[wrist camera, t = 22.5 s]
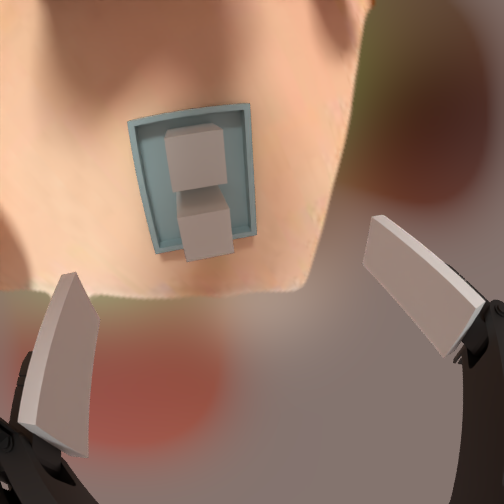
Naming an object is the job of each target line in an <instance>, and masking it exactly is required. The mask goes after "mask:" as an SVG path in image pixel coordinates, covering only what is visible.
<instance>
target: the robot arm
mask: <svg viewBox="0 0 504 504" xmlns="http://www.w3.org/2000/svg"><path fill="white" fill-rule="evenodd" d="M363 265H364V267H365V268H366V269H367V270H368V271H369V272H370V273H371V274H372V275H373V276H374V277H375V278H376V280H377V281H378V282H379V283H380V284H381V285H382V286H383V287H384V288H385V289H386V290H387V291H388V293H389V294H390V295H391V296H392V297H393V298H394V299H395V301H396V302H397V303H398V304H399V305H400V306H401V307H402V308H403V309H404V311H405V312H406V313H407V314H408V315H409V317H410V318H411V319H412V320H413V321H414V322H415V324H416V325H417V326H418V327H419V328H420V330H421V331H422V332H423V333H424V334H425V336H426V337H427V338H428V339H429V341H430V342H431V343H432V344H433V346H434V347H435V348H436V349H437V350H438V352H439V353H440V354H441V356H442V357H443V358H445V357H447V356H448V355H449V354H451V353H452V352H453V351H455V349H456V348H457V347H458V345H459V344H460V342H461V341H462V342H463V343H464V345H463V347H462V348H461V350H460V351H459V352H458V354H457V355H456V356H455V358H454V361H453V363H456V362H457V360H458V359H459V358H460V356H462V358H461V359H460V360H459V362H458V364H462V368H463V422H462V435H461V445H460V453H459V461H458V467H457V473H456V478H455V483H454V487H453V492H452V496H451V500H450V503H449V504H504V303H503V302H502V301H499V300H493V301H491V302H489V301H488V300H486V299H485V298H484V297H483V296H482V295H481V294H480V293H479V292H478V291H477V290H476V289H475V288H474V287H473V286H472V285H471V284H470V283H469V282H468V281H465V278H463V277H462V276H461V275H459V273H458V272H457V271H456V270H454V269H453V268H452V267H451V266H450V265H448V264H446V263H444V262H443V261H442V260H440V259H439V258H438V257H437V256H436V255H434V254H433V253H432V252H431V251H430V250H429V249H427V248H426V247H425V246H424V245H422V244H421V243H420V242H419V241H417V240H416V239H415V238H414V237H412V236H411V235H410V234H408V233H407V232H406V231H405V230H403V229H402V228H401V227H399V226H398V225H397V224H395V223H394V222H393V221H391V220H390V219H388V218H387V217H386V216H384V215H379V216H373V217H371V223H370V229H369V234H368V240H367V245H366V250H365V255H364V259H363ZM99 324H100V318H99V316H98V314H97V313H96V311H95V309H94V307H93V305H92V303H91V301H90V299H89V297H88V296H87V294H86V292H85V290H84V288H83V286H82V284H81V281H80V279H79V277H78V275H77V273H76V272H73V273H68V274H64V275H61V277H60V280H59V282H58V284H57V287H56V289H55V291H54V294H53V296H52V298H51V301H50V303H49V306H48V309H47V311H46V314H45V316H44V319H43V322H42V325H41V328H40V331H39V334H38V337H37V340H36V343H35V346H34V350H33V351H31V352H28V354H27V356H26V357H25V359H24V361H23V363H22V366H21V369H20V373H19V376H20V377H18V381H17V387H16V389H15V395H14V399H13V404H12V409H11V416H10V421H9V424H8V423H7V422H6V421H4V420H3V419H2V418H0V481H2V482H4V483H6V484H8V488H9V490H5V489H3V488H2V485H1V482H0V504H98V502H97V501H96V500H95V499H94V498H93V497H92V495H91V494H90V493H89V492H88V491H87V489H86V488H85V487H84V485H83V484H82V483H81V482H80V481H79V479H78V478H77V476H76V475H75V474H74V472H73V471H72V469H71V468H70V467H69V465H68V464H67V462H66V461H65V460H64V459H63V458H62V457H61V451H63V452H64V453H66V454H68V455H70V456H74V457H85V458H88V423H89V403H90V390H91V379H92V370H93V362H94V354H95V348H96V341H97V335H98V330H99Z"/></svg>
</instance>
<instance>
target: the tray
mask: <svg viewBox="0 0 504 504" xmlns="http://www.w3.org/2000/svg"><path fill="white" fill-rule="evenodd" d="M127 123H128V130H129V136H130V143H131V148H132V154H133V160H134V165H135V170H136V175H137V180H138V185H139V189H140V194H141V198H142V203H143V207H144V211H145V215H146V219H147V223H148V227H149V231H150V235H151V239H152V243H153V246H154V250H155V253H156V254H159V253H164V252H169V251H174V250H179V249H184V248H183V244H182V239H181V235H180V230H179V225H178V221H177V204H176V192H174V193H173V191H172V186H171V180H170V174H169V168H168V161H167V155H166V148H165V141H164V137H165V134H166V131H167V129H172V128H178V127H184V126H190V125H197V124H204V123H213V124H215V125H217V126H218V127H220V128H221V129H223V137H224V149H225V161H226V172H227V184H220V185H218V186H219V188H220V190H221V192H222V194H223V196H224V199H225V201H226V203H227V205H228V207H229V209H230V218H231V228H232V237H233V239H238V238H243V237H249V236H254V235H257V227H256V207H255V187H254V168H253V149H252V131H251V113H250V103H239V104H227V105H217V106H208V107H200V108H193V109H186V110H180V111H174V112H168V113H163V114H157V115H152V116H148V117H143V118H138V119H134V120H130V121H128V122H127Z"/></svg>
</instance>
